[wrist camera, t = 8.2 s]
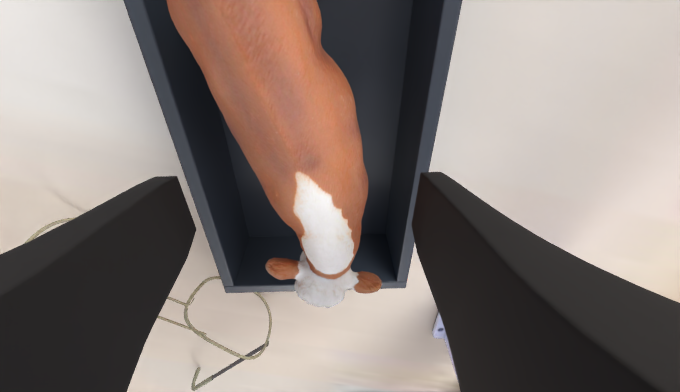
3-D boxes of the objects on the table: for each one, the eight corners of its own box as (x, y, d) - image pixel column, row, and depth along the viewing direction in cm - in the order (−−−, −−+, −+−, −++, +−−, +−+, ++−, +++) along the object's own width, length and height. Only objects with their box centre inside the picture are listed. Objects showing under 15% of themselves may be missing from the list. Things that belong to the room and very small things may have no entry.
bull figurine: (302, 215, 19) (289, 341, 12) (205, -58, 11) (30, -111, 5) (371, 202, 19) (395, 326, 12) (319, -89, 11) (305, -195, 4)
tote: (392, 234, 21) (405, 288, 17) (243, 238, 21) (225, 293, 17) (442, -138, 11) (502, -199, 7) (147, -141, 10) (49, -207, 7)
